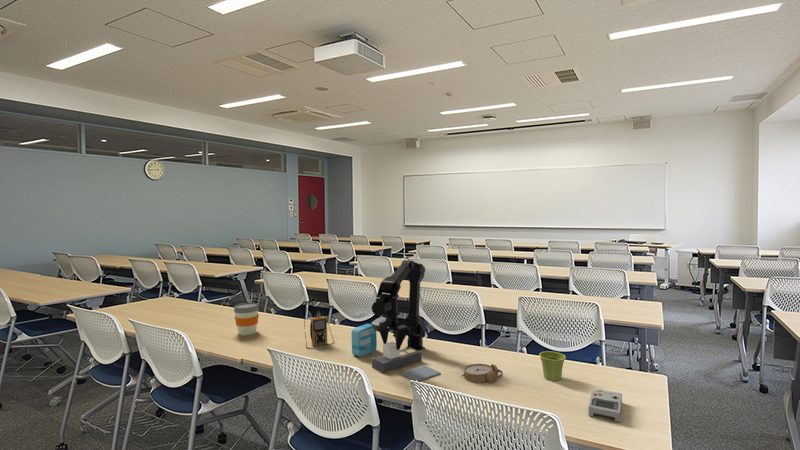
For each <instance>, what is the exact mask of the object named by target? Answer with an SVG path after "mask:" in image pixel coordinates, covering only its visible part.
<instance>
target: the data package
mask: <svg viewBox="0 0 800 450" xmlns="http://www.w3.org/2000/svg"><path fill="white" fill-rule="evenodd" d="M377 342H378V341H377V331H376V330H374V329H373V327H372V324H371V323H365V324H363V325H360V326H359V325H358V326H357V327H354V328H353V329H351V353H352V355H354V356H357V357H364V356H366V355H368V354H370V353H373V352H375V351H376V350H377V347H378V346H377V345H378V344H377Z"/></svg>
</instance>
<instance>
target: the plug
mask: <svg viewBox="0 0 800 450" xmlns="http://www.w3.org/2000/svg"><path fill="white" fill-rule="evenodd" d="M400 350H401V348H400V349H399V350H397V348H396V341H395V342H394V341H390V342H387V343H386V344H384V343H383V344H382V355H383V356H384V357H386V358H388V359H393V358H397V357H400Z"/></svg>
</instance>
